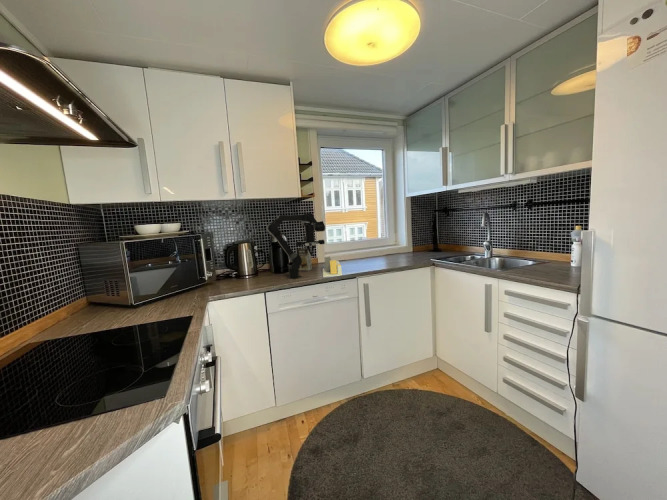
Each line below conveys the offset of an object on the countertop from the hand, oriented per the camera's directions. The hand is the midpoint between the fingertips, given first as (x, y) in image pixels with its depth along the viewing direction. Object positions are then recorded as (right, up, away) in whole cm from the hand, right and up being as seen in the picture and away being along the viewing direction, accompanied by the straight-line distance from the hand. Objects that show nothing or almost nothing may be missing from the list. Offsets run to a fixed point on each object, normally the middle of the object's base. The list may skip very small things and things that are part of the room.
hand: (311, 255), depth 182 cm
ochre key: (+15, -11, -4) cm, 19 cm away
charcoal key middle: (+11, -10, +6) cm, 16 cm away
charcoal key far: (+11, -10, +16) cm, 21 cm away
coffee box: (-7, -11, +25) cm, 29 cm away
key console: (+13, -12, +6) cm, 19 cm away
